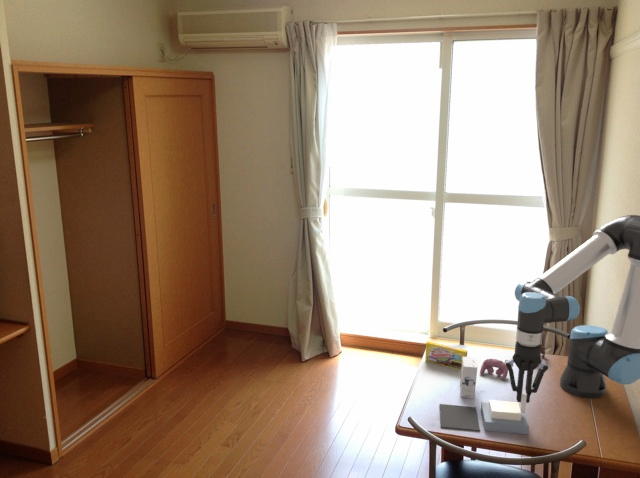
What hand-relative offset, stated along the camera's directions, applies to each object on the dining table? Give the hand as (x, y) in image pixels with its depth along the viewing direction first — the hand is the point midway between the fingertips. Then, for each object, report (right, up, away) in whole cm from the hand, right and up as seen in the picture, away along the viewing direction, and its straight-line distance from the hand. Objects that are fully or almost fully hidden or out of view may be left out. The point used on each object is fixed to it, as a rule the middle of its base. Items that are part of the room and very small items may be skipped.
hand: (521, 410), depth 183 cm
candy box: (-15, +5, +41) cm, 44 cm away
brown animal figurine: (+21, +7, +48) cm, 53 cm away
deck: (-5, -4, +2) cm, 7 cm away
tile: (-5, -1, +1) cm, 5 cm away
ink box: (-12, 0, +21) cm, 24 cm away
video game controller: (+1, +3, +33) cm, 34 cm away
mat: (-19, -4, +4) cm, 20 cm away
